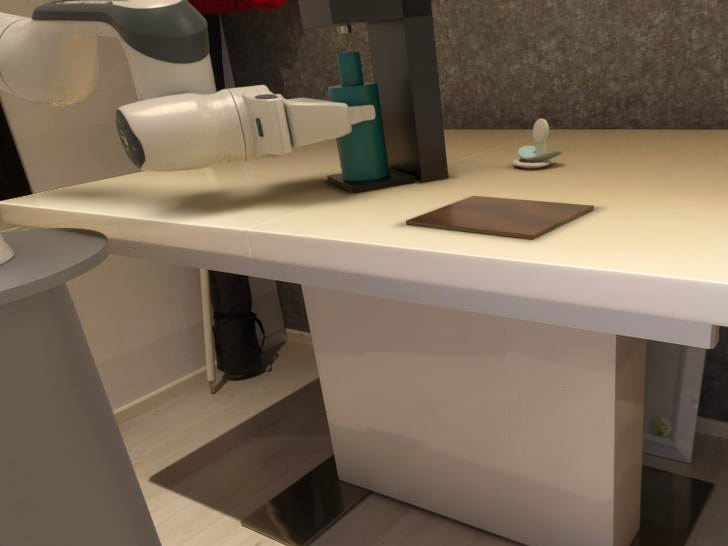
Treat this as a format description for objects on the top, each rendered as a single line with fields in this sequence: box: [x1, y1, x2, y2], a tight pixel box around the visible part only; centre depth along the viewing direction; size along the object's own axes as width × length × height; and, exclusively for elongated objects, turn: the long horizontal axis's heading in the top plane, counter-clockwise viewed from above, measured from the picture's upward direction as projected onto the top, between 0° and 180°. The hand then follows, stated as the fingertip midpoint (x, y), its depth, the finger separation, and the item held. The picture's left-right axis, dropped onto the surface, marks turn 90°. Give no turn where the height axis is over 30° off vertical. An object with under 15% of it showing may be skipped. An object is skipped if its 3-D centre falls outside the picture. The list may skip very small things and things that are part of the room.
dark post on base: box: [297, 0, 449, 194], centre depth 91 cm, size 14×14×26 cm
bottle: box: [327, 50, 390, 181], centre depth 92 cm, size 7×7×16 cm
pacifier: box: [512, 117, 563, 169], centre depth 95 cm, size 7×6×6 cm
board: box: [405, 195, 595, 240], centre depth 72 cm, size 12×16×1 cm
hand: (361, 109), depth 92 cm, fingers open, 8 cm apart
